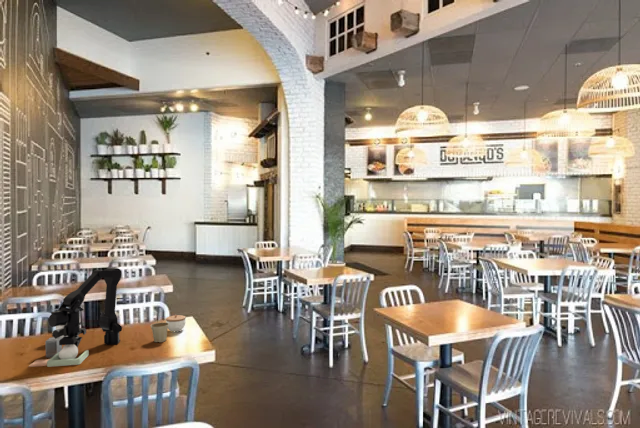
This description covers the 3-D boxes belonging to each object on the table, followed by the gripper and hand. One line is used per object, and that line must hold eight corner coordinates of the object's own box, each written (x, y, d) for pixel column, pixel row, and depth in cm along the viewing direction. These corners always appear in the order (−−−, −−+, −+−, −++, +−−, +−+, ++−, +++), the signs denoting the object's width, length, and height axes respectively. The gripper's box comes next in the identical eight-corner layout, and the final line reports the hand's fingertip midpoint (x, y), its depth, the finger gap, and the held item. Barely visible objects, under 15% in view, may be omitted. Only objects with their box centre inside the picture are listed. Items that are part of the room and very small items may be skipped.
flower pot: (146, 342, 234) (146, 326, 234) (159, 337, 243) (159, 321, 243) (160, 344, 231) (160, 327, 231) (173, 339, 239) (172, 323, 239)
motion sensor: (67, 357, 212) (66, 341, 211) (81, 357, 211) (81, 341, 211) (55, 363, 204) (54, 346, 204) (70, 363, 203) (70, 347, 203)
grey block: (62, 352, 219) (61, 336, 218) (57, 357, 212) (56, 340, 212) (50, 353, 218) (49, 337, 217) (44, 357, 211) (44, 341, 211)
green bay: (58, 357, 212) (58, 352, 212) (88, 355, 214) (88, 350, 214) (47, 366, 199) (47, 361, 199) (79, 364, 202) (79, 359, 202)
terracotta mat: (55, 359, 209) (55, 358, 209) (48, 365, 201) (48, 364, 201) (36, 360, 207) (36, 360, 207) (28, 366, 199) (28, 366, 199)
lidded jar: (163, 330, 256) (162, 314, 256) (180, 327, 263) (180, 311, 263) (171, 334, 248) (170, 318, 248) (189, 330, 255) (188, 314, 255)
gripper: (62, 317, 221) (62, 348, 221) (46, 328, 202) (47, 361, 203) (86, 316, 223) (86, 347, 223) (72, 326, 204) (73, 360, 205)
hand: (73, 353), depth 213 cm, fingers closed
